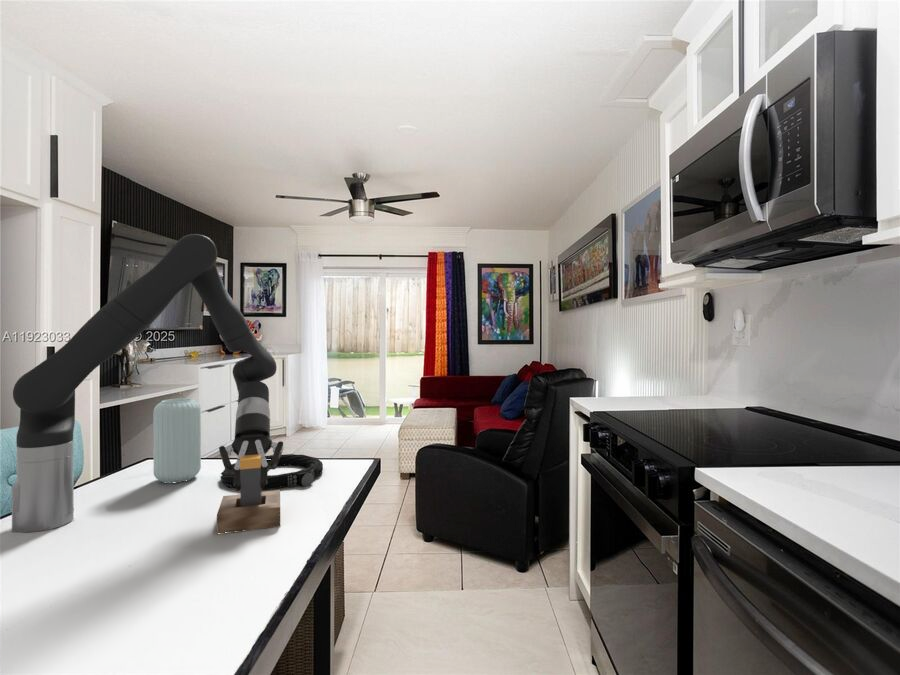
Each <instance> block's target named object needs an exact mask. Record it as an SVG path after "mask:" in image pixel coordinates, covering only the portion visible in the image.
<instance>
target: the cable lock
mask: <svg viewBox="0 0 900 675" xmlns="http://www.w3.org/2000/svg"><path fill="white" fill-rule="evenodd" d="M272 456H273V454H271V455H265V458H266V459H272ZM266 461H267V462H270V461H271V460H266ZM235 464H236V462H235V463H231V465H235ZM290 465H292V466H291V467H295V466H296V467H297V466H298V467H302V468H303V469H300V470H298V471H293V472H287V473H281V474H274V475H273V474H272V475H268V478H267V485H264V488H262V490H276V489H281V488H289V487H290V488H292V487H299V488H300V487H308V486H309V487H310V486H311V485H312V484H313V482H314V479H316V478H317V477H318V476H320V474H322V472H323V471H324V464H323V462H322V461H321V460H320V459H319V458H318V457H313V456H309V455H305V454H294V453H289V454H281V457H280V459H279V462H278V464H277V467H281V466H290ZM220 474H221V476H220V480H221V483H223V484H225V485H226V486H227V487H230V486H231V488H234V474H232V473H230V474H227V473H226V470H225V468H224V469H223V471H222V472H221V473H220Z"/></svg>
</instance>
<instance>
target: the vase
mask: <svg viewBox="0 0 900 675" xmlns="http://www.w3.org/2000/svg"><path fill="white" fill-rule="evenodd" d="M201 417H202V416H201V405H200V404H199V403H198V402H197V401H196V400H194V399H193V398H170V399H163V400H161V402H158V404H156V405H155V407H154V408H153V418H152V420H153V422H152V423H153V424H152V426H153V435H152V436H153V450H152V451H153V475H154V476H153V477H155V479H156V480H158V481H159V482H161V481H162V482H161V483H163V482H166V483H165V484H174V483H173V482H180V483H182V482H181V481H184V482H187V481H186V480H188V481H190V480H192V479H193V478H194V477H195V476H197V475H198V474H199V472H201V468H202V466H201V465H202V464H201V463H202V459H201V458H202V457H201V456H202V453H201V452H202V449H201V447H202V446H201V445H202V444H201V440H202V438H201V431H202V430H201V428H202V427H201V424H202V423H201ZM191 478H192V479H191ZM189 479H190V480H189Z"/></svg>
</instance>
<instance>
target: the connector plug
mask: <svg viewBox="0 0 900 675" xmlns="http://www.w3.org/2000/svg"><path fill="white" fill-rule="evenodd" d="M260 479H261V455H259V454H256V455H245V456H241V459H240V481H241V489H240V490H239V491H240V493H239V494H241V507H245V506H253V505H261V501H262V492H263V491H262V490H263V489H262V488H261V486H260Z"/></svg>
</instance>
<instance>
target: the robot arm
mask: <svg viewBox="0 0 900 675" xmlns="http://www.w3.org/2000/svg"><path fill="white" fill-rule="evenodd" d="M217 260H218V250H217V246H216V244H215V242H214V241H213V240H212V239H211V238H210V237H208V236H205V235H203V234H199V233H191V234H187V235H184V236H182V237H181V238H180V239H178V240H177V242H175V244H174V245H173V246H172V247H171V249H170V250H169V251H167V253H166V254H165V255H164V256H163V257H162V259H160V261H159V262H158V263H157V264H155V265H154V267H152V268H151V269H150V270H149V271H147V272H146V273H145V274H143V275H142V276H140V277H139V278H138V279H136V280H134V281H133V282H132V283H130V284H129V285H128V286H126V287H125V288H124V289H123V290H121V291H120V292H119V293H118V294H117V295H115V296H114V297H112V298H111V299H110V300H109V301H108V302H107V303H106V304H105V305H103V306H102V307H101V308H100V309H99V310H98V311H96V312H95V313H94V315H92V316H91V317H90V319H88V320H87V321H86V322H85V323H84V324H83V325H82V327H80V328H79V329H78V330H77V331H76V333H74V335H73V336H72V337H71V338H70V339H69V340H68V341H67V342H66V343H65V344H64V345H63V346H62V347H60V348H59V349H58V350H56V351H55V352H54V353H52V355H50V356H49V357H48V358H45V359H44V360H43V361H42V362H41V363H39V364H37V366H35V367H33V368H31V369H30V370H29V371H27V372H26V373H24V374H23V375H21V376H20V377H19V378H18V379H17V380H16V382H15V384H14V385H13V386H14V387H13V389H12V398H13V402H14V403H15V405H16V406H17V407H18V408H19V409H20V412H19V414H20V415H19V416H20V417H19V425H18V426H19V427H18V430H17V432H16V483H14V484H12V485H11V532H22V533H33V532H42V531H47V530H51V529H55V528H59V527H61V526H64V525H67V524H69V523H71V522H72V521H73V520H74V512H75V508H74V507H75V506H74V504H75V503H74V491H75V490H74V431H75V425H76V424H75V422H76V416H75V415H76V389H77V388H78V387H79V386H80V385H81V384H82V383H83V381H84V380H85V379H86V378H87V377H88V376H89V375H90V374H91V373H92V372H93V371H94V370H95V369H97V368H98V367H99V366H100V365H101V364H103V363H104V362H105V361H108V360H109V359H110V358H112V357H113V356H115V355H116V354H118V353H119V352H120V351H122V350H123V349H124V348H126V347H127V346H129V344H131V343H132V342H133V341H134V340H135V339H136V338H138V336H139V335H141V334H142V333H143V332H144V331H145V330H146V329H147V328H149V327H150V326H151V325H152V323H154V322H155V320H156V319H158V317H159V316H160V315H161V314H162V312H164V310H165V309H167V307H168V306H169V304H170V303H171V302H172V301H173V299H175V297H176V295H177V294H178V293H179V292H180V291H181V290H183V289H184V288H185V287H186V286H187V285H189V284H190V283H191V285H192V286H193V288H194V289H195V291H196V292H197V293H198V295H199V297H200V299H201V301H202V302H203V304H204V306H205V308H206V310H207V312H208V314H209V316H210V318H211V320H212V321H213V322H212V323H213V324H214V326H215V329H216V330H217V332H218V333H219V336H220V338H221V339H222V341H223V343H224V345H225V347H226V349H227V350H228V351H229V352H231V353H237V352H246V353H248V354H249V355H250V356H248V357H245V358H242V359H241V360H239V361H236V363H235V364H234V366H233V368H232V376H233V379H234V382H235V385H236V388H237V394H238V397H237V409H236V413H235V428H234V440H233V442H232V443H231V445H228V446H226V447H225V446H224V445H221V446H219V447H218V450H219V456H220V458H221V459H220V460H221V461H222V465H223V467H224V469H225V470H226V473H227V474H230V473H232V474H234V487H235V488H234V487H233V488H234V489H236V490H237V491H240V489H241V481H240V459H241V456H245V455H256V454H259V455H261V479H260V486H261V488H264V485H267V478H268V473H269V471H270V470H276V469H277V467H278V466H277V464H278V462H279V459H280V457H281V455H283V454H282V453H283V451H284V442H283V441H281V440H280V441H278V442H274V441H272V439H271V411H270V391H269V387H268V386H267V384H266V383H264V382H263V381H265V380H267V379H270V378H272V377H273V376H274V375H275V374H276V373H277V369H278V368H277V367H278V366H277V362H276V360H275V358H274V356H272V354H271V353H270V352H269V351H268V350H267V349H266V348H265V347H264V346H263V345H262V344H261V343H260V341H259V340H258V339H257V338H256V336H255V335H254V334H253V331H252V330H251V328H250V326H249V324H248V321H247V320H246V318H245V317H244V314H243V313H242V312H241V309H239V307H238V305H237V304H236V303H235V301H234V300H233V298H232V297H231V295H230V294H229V292H228V290H227V289H226V287H225V285H224V283H223V281H222V279H221V277H220V274H219V271H218V268H217V264H216V263H217ZM271 448H272V452H273V454H272V455H273V456H272V459H271V461H270V462H267V461H266V458H265V456H266V455H267V453H268V452H269V451H270V450H271ZM232 452H233V453H234V454H235V455H236V456H237V458H236V462H235V463H236V464H235V465H231V464H232V462H231V460H230V457H231V455H232Z"/></svg>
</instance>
